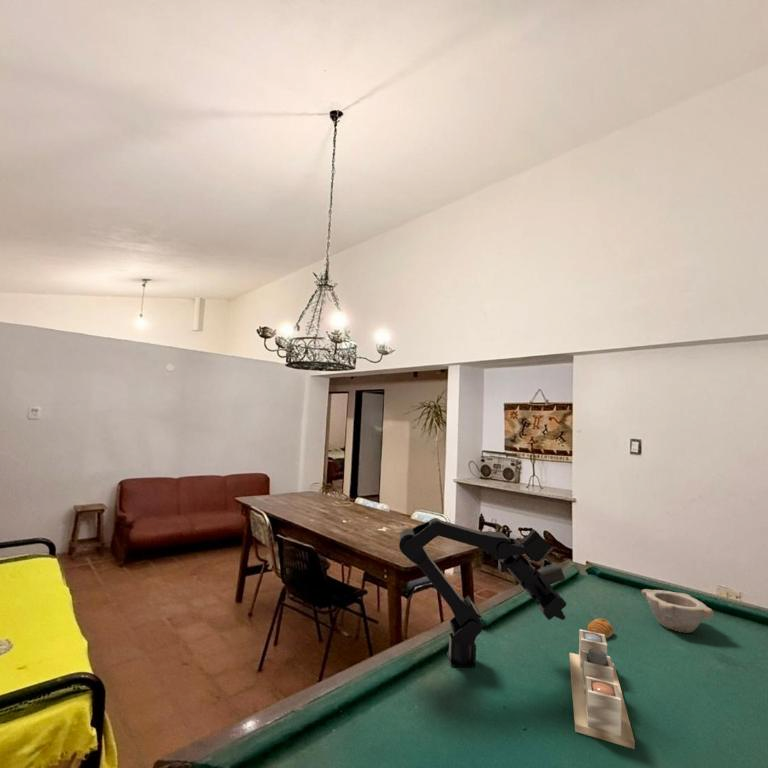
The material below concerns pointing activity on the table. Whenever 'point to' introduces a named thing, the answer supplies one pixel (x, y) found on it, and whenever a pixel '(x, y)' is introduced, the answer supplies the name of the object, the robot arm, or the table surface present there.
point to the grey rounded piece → (597, 657)
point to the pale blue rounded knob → (592, 637)
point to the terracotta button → (602, 688)
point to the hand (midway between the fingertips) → (563, 618)
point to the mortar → (677, 610)
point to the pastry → (601, 627)
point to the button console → (598, 696)
